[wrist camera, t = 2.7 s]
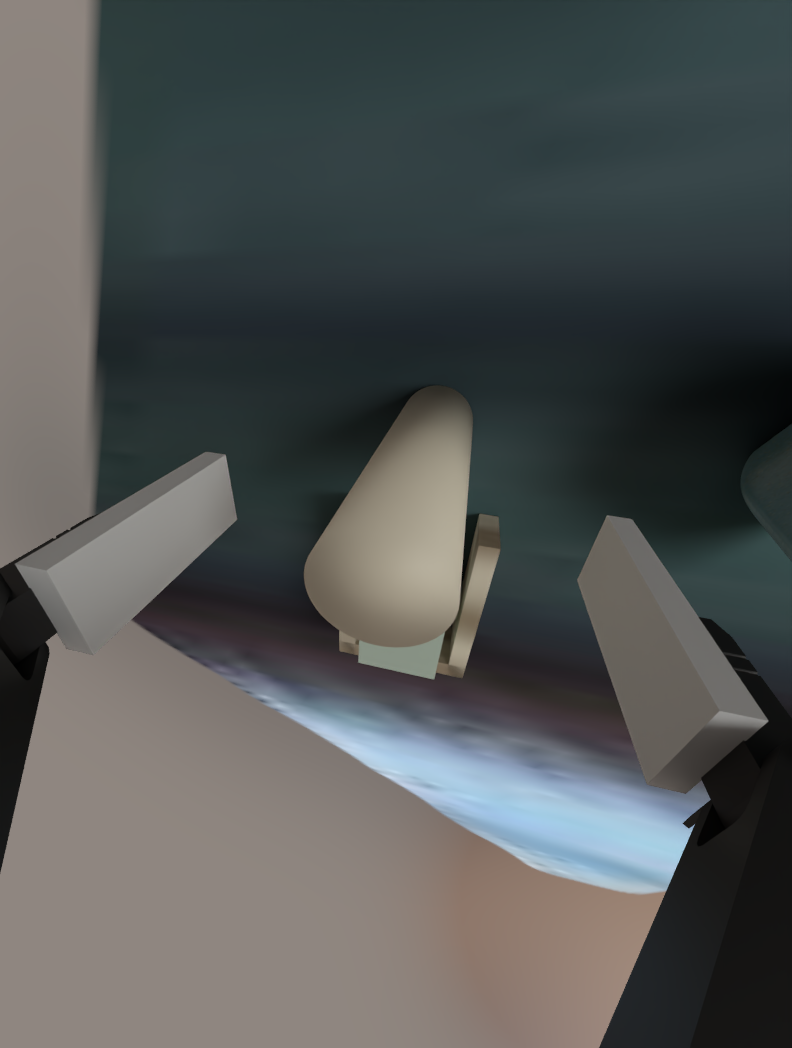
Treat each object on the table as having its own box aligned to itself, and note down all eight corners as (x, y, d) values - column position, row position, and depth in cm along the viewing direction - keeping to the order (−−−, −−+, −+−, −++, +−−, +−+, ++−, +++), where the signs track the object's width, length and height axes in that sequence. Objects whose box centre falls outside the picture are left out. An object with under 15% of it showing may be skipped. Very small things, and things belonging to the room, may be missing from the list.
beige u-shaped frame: (355, 492, 25) (338, 520, 22) (498, 516, 24) (500, 549, 21) (352, 617, 31) (339, 651, 28) (464, 640, 30) (462, 678, 27)
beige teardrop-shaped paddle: (396, 379, 20) (278, 509, 9) (489, 391, 19) (497, 548, 8) (379, 598, 29) (312, 803, 18) (442, 611, 29) (415, 831, 17)
